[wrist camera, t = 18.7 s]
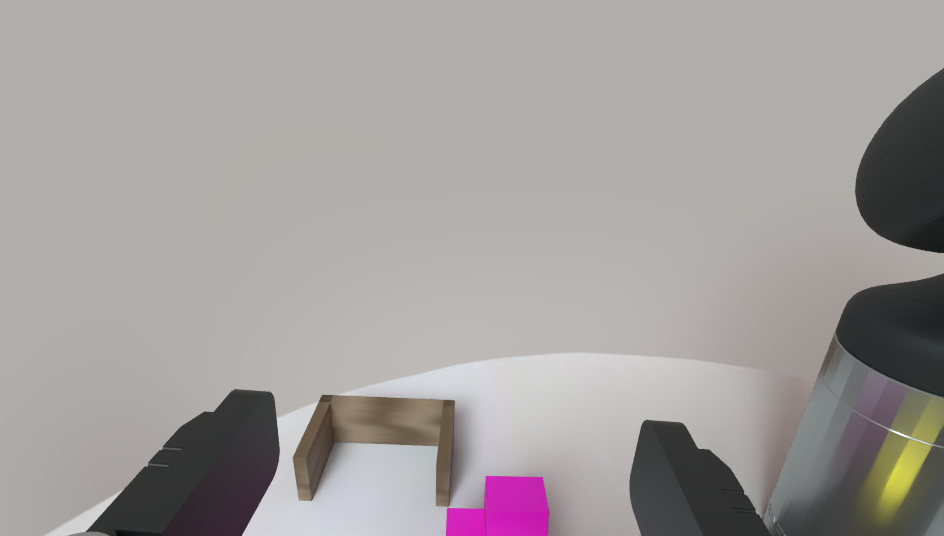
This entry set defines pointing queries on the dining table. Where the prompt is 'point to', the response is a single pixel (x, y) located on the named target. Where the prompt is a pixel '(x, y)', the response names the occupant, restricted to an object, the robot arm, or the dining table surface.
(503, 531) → the toy block
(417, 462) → the dining table surface
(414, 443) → the walnut bracket
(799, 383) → the dining table surface
